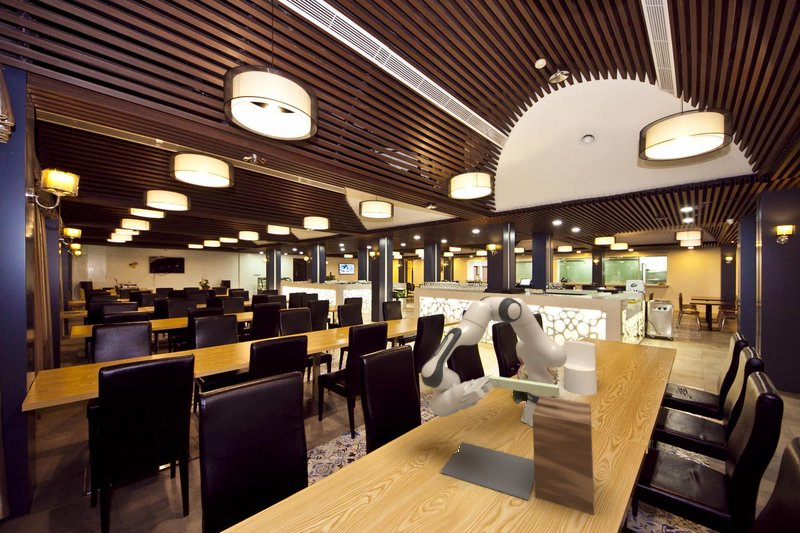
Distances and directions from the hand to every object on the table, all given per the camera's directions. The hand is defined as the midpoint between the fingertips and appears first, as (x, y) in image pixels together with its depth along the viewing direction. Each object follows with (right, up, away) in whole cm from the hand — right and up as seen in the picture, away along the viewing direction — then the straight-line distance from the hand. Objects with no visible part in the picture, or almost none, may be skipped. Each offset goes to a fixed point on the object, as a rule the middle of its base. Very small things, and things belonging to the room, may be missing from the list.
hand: (498, 380), depth 118 cm
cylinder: (+74, -33, +79) cm, 113 cm away
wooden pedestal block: (+18, -31, -11) cm, 38 cm away
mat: (-3, -32, +1) cm, 32 cm away
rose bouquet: (+42, -34, +67) cm, 86 cm away
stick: (+7, -2, -4) cm, 8 cm away
